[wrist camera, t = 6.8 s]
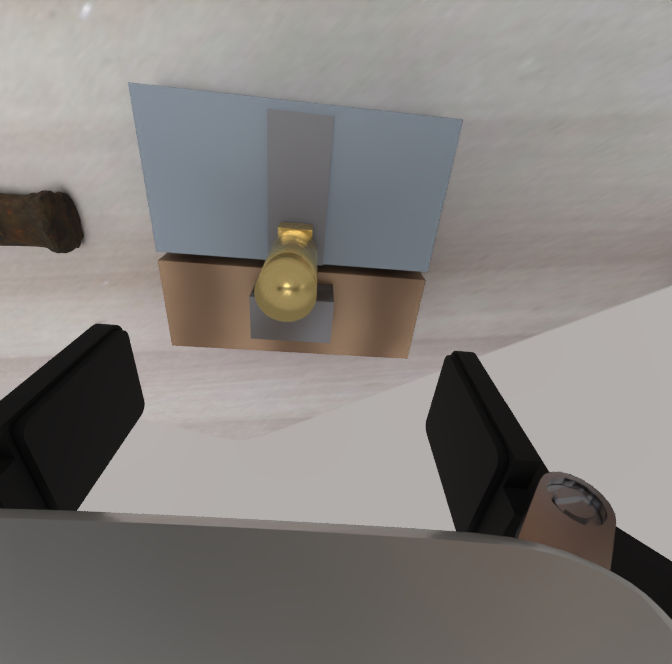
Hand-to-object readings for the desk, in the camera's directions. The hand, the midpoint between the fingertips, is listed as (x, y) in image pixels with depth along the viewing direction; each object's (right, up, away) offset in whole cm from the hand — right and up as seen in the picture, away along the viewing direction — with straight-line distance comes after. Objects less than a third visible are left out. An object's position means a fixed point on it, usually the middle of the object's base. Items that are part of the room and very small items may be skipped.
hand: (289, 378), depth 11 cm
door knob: (-1, +5, +13) cm, 14 cm away
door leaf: (-1, +12, +14) cm, 18 cm away
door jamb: (-2, +5, +18) cm, 19 cm away
